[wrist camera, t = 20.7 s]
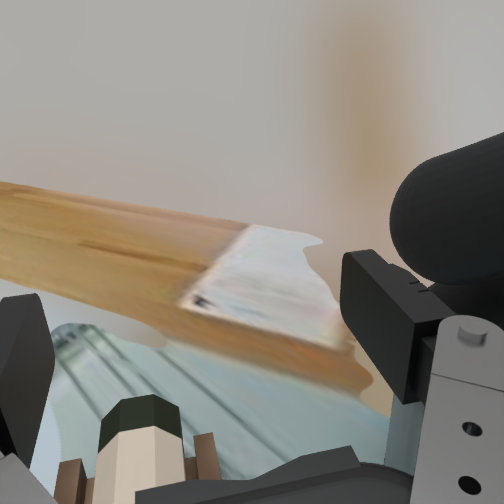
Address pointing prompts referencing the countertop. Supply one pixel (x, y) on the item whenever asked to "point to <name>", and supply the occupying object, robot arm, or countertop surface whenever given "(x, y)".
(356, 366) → the countertop surface
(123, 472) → the wine bottle
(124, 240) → the countertop surface
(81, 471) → the cradle
